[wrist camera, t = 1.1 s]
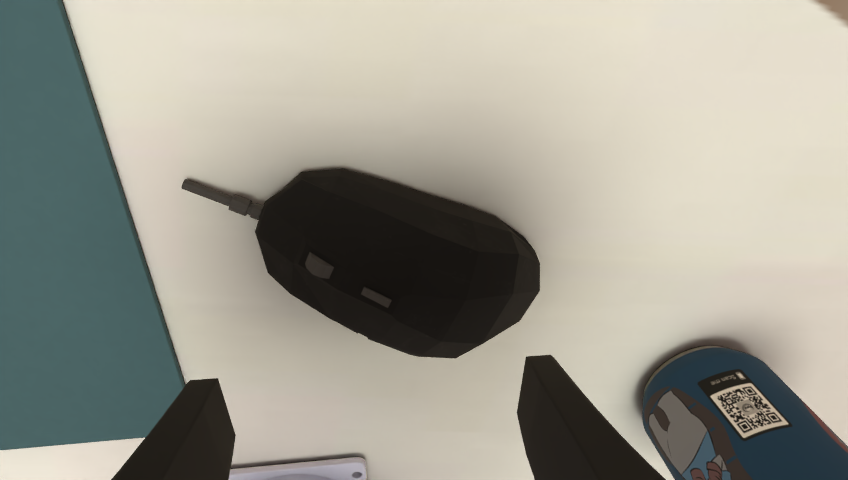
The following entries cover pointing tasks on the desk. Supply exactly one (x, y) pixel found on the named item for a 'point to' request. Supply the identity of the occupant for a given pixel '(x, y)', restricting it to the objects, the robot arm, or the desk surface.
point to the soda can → (736, 422)
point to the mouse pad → (69, 256)
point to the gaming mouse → (393, 260)
